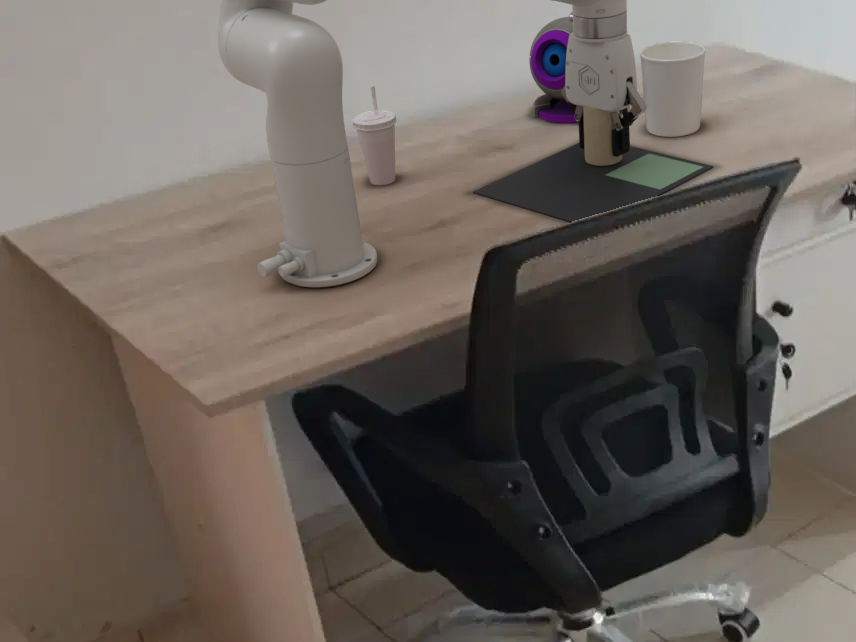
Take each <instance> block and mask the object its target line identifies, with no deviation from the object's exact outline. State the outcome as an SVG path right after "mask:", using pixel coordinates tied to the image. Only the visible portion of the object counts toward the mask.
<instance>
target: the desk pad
mask: <svg viewBox="0 0 856 642" xmlns="http://www.w3.org/2000/svg"><path fill="white" fill-rule="evenodd" d="M712 169H714V165H711V164H707V163H703V162H698V161H695V160H689V159H687V158H682V157H677V156H675V155H674V156H673V155H669V154H665V153H661V152H657V151H653V150H648V149H644V148H640V147H636V146H631V145H630V150H629V151H628V152H626V153H624V154H622V160H621V161H620V162H618V163H616V164H612V165H605V166H598V165H592V164H589V163H587V162H586V161H585V148H584V149H583V148H580V143H579V142H577V143H575V144H573V145H570V146H569V147H566V148H565V149H562V150H560V151H557V152H555V153H554V154H551V155H549V156H547V157H545V158H543V159H541V160H539V161H536V162H534V163H532V164H530V165H527V166H525V167H523V168H520V169H519V170H516V171H514V172H512V173H510V174H508V175H505V176H503V177H501V178H500V179H497V180H495V181H493V182H490V183H488V184H486V185H483V186H482V187H480V188H477V189H475V190H473V191H472V194H475V195H479V196H481V197H485V198H488V199H492V200H495V201H498V202H502V203H505V204H508V205H512V206H514V207H518V208H522V209H525V210H528V211H531V212H535V213H537V214H542V215H545V216H548V217H552V218H555V219H558V220H562V221H565V222H568V223H571V222H572V221H575V220H579V219H582V218H585V217H589V216H592V215H595V214H599V213H603V212H607V211H610V210H613V209H616V208H619V207H622V206H626V205H629V204H632V203H635V202H638V201H641V200H645V199H648V198H651V197H655V196H658V195H660V196H662V195H664V194H666V193H668V192H669V191H671V190H673V189H675V188H678V187H679V186H681V185H682V184H685V183H687V182H689V181H690V180H692V179H694V178H697V177H698V176H700V175H702V174H704V173H705V172H708V171H709V170H712ZM661 194H662V195H661ZM658 197H659V196H658Z"/></svg>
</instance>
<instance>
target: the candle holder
mask: <svg viewBox="0 0 856 642" xmlns="http://www.w3.org/2000/svg"><path fill="white" fill-rule="evenodd" d="M706 52H707V51H706V47H705V46H704V45H702V44H701V43H697V42H694V41H693V42H692V41H685V40H681V41H680V40H671V41H661V42H657V43H651V44H649V45H645V46H644V47H642V49H640V51H639V59H640V70H641V82H642V83H641V84H642V95H643V97H642V98H643V101H644V102H645V104H646V106H647V109H646V110H645V111H644V120H645V126H646V131H647V132H648V133H649V134H651V135H653V136H658V137H665V138H668V137H669V138H676V137H677V138H678V137H684V136H688V135H692V134H694V133H696V132H697V131H698V130H699V129H700V127H701V120H702V110H703V109H702V108H703V91H704V75H705V62H706V61H705V59H706Z"/></svg>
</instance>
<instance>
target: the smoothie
mask: <svg viewBox="0 0 856 642" xmlns="http://www.w3.org/2000/svg"><path fill="white" fill-rule="evenodd" d="M370 92H371V100H372V107H373V110H368V111H364V112H363V111H362V112H361V113H358V114H356V115H354V116H353V117H352V119H351V121H352V128H353V129H354V130H355V132H356V135H357V139H358V143H359V146H360V149H361V153H362V157H363V160H364V164H365V168H366V171H367V174H368V178H369V181H370V184H371V185H374V186H385V185H389V184H392V183H394V182H395V181H396V127H395V124H397V116H396V113H395V112H394V111H392V110H386V109H378V103H377V101H378V100H377V95H376V94H377V93H376V86H375V85H371V86H370Z"/></svg>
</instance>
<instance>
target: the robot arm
mask: <svg viewBox="0 0 856 642" xmlns="http://www.w3.org/2000/svg"><path fill="white" fill-rule="evenodd" d="M551 1H553V2H560V3H564V4H568V5H571V8H572V9H571V10H572V11H571V12H570V13H569V15H568V17H569V20H570V21H571V22H573V33H571V34H570V35H569V40H568V46H567V54H566V80H565V81H566V85H565V86H564V88H563V89H562V90H561V94H562V96H563V97H564V99H565V100H566V101H567V103H569V107H570V108H571V110H572V111H573V113H574V114H575V115H574V118H575V120H576V121H578V122H577V123H578V139H579V142H578V143H580V148H583V149H584V117H583V107H585V106H586V107H592V108H595V109H598V110H600V111H605V112H611V115H612V119H613V122H614V126H615V129H614V130H612V154H613V156H615V157H618V156H620V155H622V154H624V153H626V152H628V151H629V150H630V146H631V141H630V138H631V136H630V133H631V132H630V127H631V126H633V125H634V122H635V121H636V120H638V118H639V116H641V115H642V114H643V113H645V110H646V109H647V106H646V104H645V102H644V98H643V97H642V96H641V95H640V93H639V92H638V81H637V80H638V79H637V78H638V77H637V67H636V59H635V53H634V52H635V51H634V46H633V41H632V38H631V34H628V2H627V1H628V0H551ZM325 2H327V0H220V5H219V17H218V29H217V41H218V42H217V43H218V44H217V45H218V51H219V55H220V59H221V62H222V64H223V67H224V68H225V69H226V70H227V72H228V73H229V74H230V75H231V76H232V77H233V78H234V79H236V81H239V82H241V83H242V84H244V85H247V86H249V87H252V88H255V89H256V90H259V91H261V92H263V93H265V94H266V98H267V107H266V108H267V109H266V118H265V134H266V143H267V148H268V153H269V158H270V162H271V166H272V173H273V178H274V184H275V189H276V194H277V200H278V204H279V209H280V213H281V214H280V215H281V219H282V220H281V221H282V225H283V231H284V237H285V239H284V240H282V241H280V242H278V245H279V251H277V252H276V253H275V256H273V257H269V258H267V259H264V260H262V261H259V262H258V263H257V264H256V270H257V272H258V274H259V275H260V276H261V277H262V278H266V277H268V276H269V277H270V275H271V276H272V275H273V274H276V273H278V274H279V276H280V278H282V279H283V280H284V281H285V282H287V283H289V284H291V285H294V286H297V287H302V288H328V287H329V288H330V287H334V286H340V285H343V284H348V283H351V282H353V281H356V280H359V279H361V278H363V277H365V276H367V274H369V273H370V272H372V270H373V269H374V268H375V267H376V266H377V264H378V259H379V258H378V253H377V249H376V248H375V247H374V246H373V245H371V244H370V243H368V242H365V241H363V234H362V228H361V223H360V222H361V221H360V214H359V209H358V203H357V197H356V196H357V195H356V189H355V183H354V177H353V170H352V164H351V157H350V151H349V145H348V140H347V134H346V128H345V127H346V126H345V118H344V107H343V84H344V83H343V81H344V67H343V58H342V54H341V50H340V48H339V45H338V43H337V42H336V40H335V38H334V37H333V35H331V33H330V32H329V31H328V30H326V29H325V28H324V27H323V26H322V25H321V24H319V23H317V22H315V21H313V20H311V19H309V18H306V17H303V16H300V15H297V14H293V11H294V10H293V9H294V3H295V4H300V5H307V6H314V5H319V4H322V3H325ZM630 106H631V107H630ZM619 111H621V112H622V119H621V115H620V112H619Z"/></svg>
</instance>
